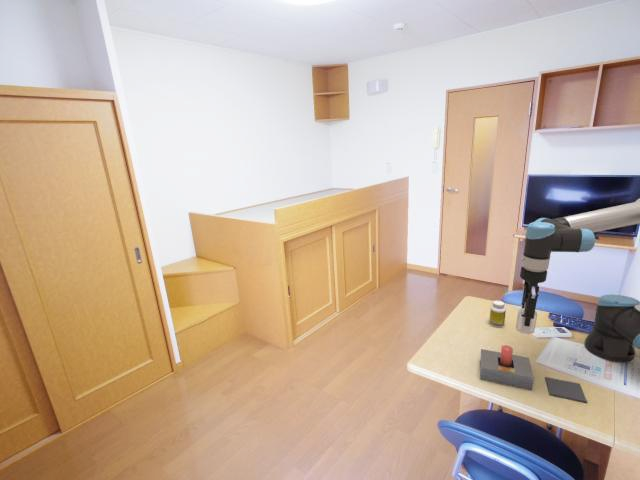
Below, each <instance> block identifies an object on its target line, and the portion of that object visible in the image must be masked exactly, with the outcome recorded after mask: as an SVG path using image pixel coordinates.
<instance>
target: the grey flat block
mask: <svg viewBox="0 0 640 480" xmlns="http://www.w3.org/2000/svg"><path fill="white" fill-rule="evenodd" d="M500 357H501V351H494V350H489V349H484V348H481V349H480V360H479V362H480V364H479V365H480V366H479V367H480V369H479V372H480V375H479V377H480V380H482V381H486V382H491V383H495V384H500V385H505V386H509V387H515V388H519V389H524V390H527V391H533V386H534V385H533V384H534V378H535V377H534V373H533V369H532V364H531V359H530V357H527V356H523V355H522V356H521V355H516V354H512V363H511V366H510V367H505V366H502V365H501V364H500Z"/></svg>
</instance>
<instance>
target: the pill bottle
mask: <svg viewBox="0 0 640 480" xmlns="http://www.w3.org/2000/svg"><path fill="white" fill-rule="evenodd" d="M506 312H507V311H506V307H505V302H503V301H501V300H493V301H492V305H491V307H490V309H489V321H488V322H489V324H490V326H493V327H495V328H502V327H504V326H505V322H506Z"/></svg>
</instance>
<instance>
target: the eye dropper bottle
mask: <svg viewBox="0 0 640 480" xmlns="http://www.w3.org/2000/svg"><path fill="white" fill-rule="evenodd" d="M525 303H526V302H525ZM524 311H525V306H524V308H522V307H521V308H519V309H518V311H517V317H516V323H515V329H516V331H517V332H520V331H521V325H522V318H523V317H522V316H521V314H523V315H524ZM537 319H538V313H537V311H536V310H535V314H534V319H532V323H531V329H530V334H534V333H535V331H536V325H537Z"/></svg>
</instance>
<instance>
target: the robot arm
mask: <svg viewBox="0 0 640 480" xmlns="http://www.w3.org/2000/svg"><path fill="white" fill-rule="evenodd" d="M638 224H640V198H638V199H637V200H635V201H634V202H631V203H630V202H629V203H624V204H620V205H616V206H610V207H606V208H605V207H604V208H599V209H596V210H592V211H587V212H581V213H577V214H572V215H567V216H563V217H556V218H553V219H552V218H548V217H540V218H538V219H536V220H535V221H533V222H530V223H528V225H527V228H526V232H525V240H524V247H523V256H522V257H520V260H521V267H520V273H519V277H520V279H521V280H524V283H523V291H522V292H523V293H522V299H521V308H524V306H525V311H524V315H523V314H521V316H522V317H523V318H522V325H521V331H519V332H520V334H524V335H525V334H526V335H530V334H531V333H530V329H531V323H532V319H534V314H535V311H536V307H537V302H538V298H539V293H538V292H540V291H539V290H540V285H539V284H540V283H541V284H542V283H544V282H546V280H547V276H548V271H547V270H548V269H549V266H550V259H551V253H556V252H557V253H587V252H590V251H592V250H593V249H594V247H595V244H596V235H595V233H597V232H601V231H602V232H603V231H607V230H608V231H609V230H613V229H617V228H618V229H619V228H622V227H629V226H632V225H638ZM525 302H526V303H525ZM596 306H597V307H596V310H595V317H594V321H593V326H592V329H591V331H589V334H588V335H587V336H586V337H585V339H584V344H583V346H584V347H585V348H586V350H587V351H588V352H590V353H591V354H593V355H595V356H597V357H599V358H601V359H604V360H607V361H611V362H616V363H630V362H633V361H634V360H635V358H636V349H637V350H639V351H640V300H639V299H637V298H634V297H631V296H627V295H620V294H604V295H601V296H599V298H598V302H597V303H596Z"/></svg>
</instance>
